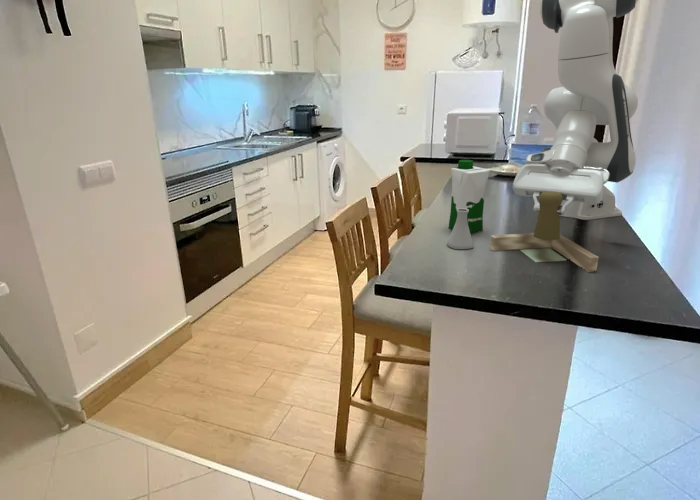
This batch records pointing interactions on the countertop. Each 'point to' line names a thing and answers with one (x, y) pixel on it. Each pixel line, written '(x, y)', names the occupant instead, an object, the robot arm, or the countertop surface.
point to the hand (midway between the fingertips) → (548, 212)
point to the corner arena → (546, 249)
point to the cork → (548, 216)
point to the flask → (460, 232)
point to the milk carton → (468, 194)
